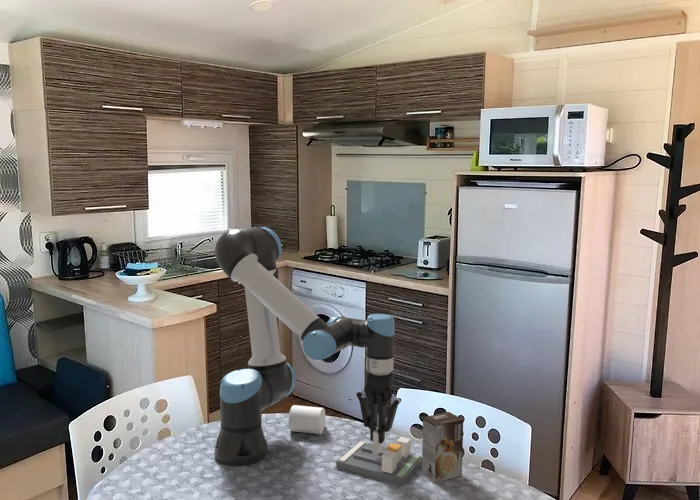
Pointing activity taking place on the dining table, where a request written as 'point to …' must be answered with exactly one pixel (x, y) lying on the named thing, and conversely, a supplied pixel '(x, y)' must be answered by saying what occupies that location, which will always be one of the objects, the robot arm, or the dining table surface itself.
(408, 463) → the panel
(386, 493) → the dining table surface
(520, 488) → the dining table surface
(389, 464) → the block
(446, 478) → the brown tall rectangular box
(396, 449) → the block
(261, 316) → the robot arm
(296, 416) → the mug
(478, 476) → the dining table surface
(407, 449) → the block
